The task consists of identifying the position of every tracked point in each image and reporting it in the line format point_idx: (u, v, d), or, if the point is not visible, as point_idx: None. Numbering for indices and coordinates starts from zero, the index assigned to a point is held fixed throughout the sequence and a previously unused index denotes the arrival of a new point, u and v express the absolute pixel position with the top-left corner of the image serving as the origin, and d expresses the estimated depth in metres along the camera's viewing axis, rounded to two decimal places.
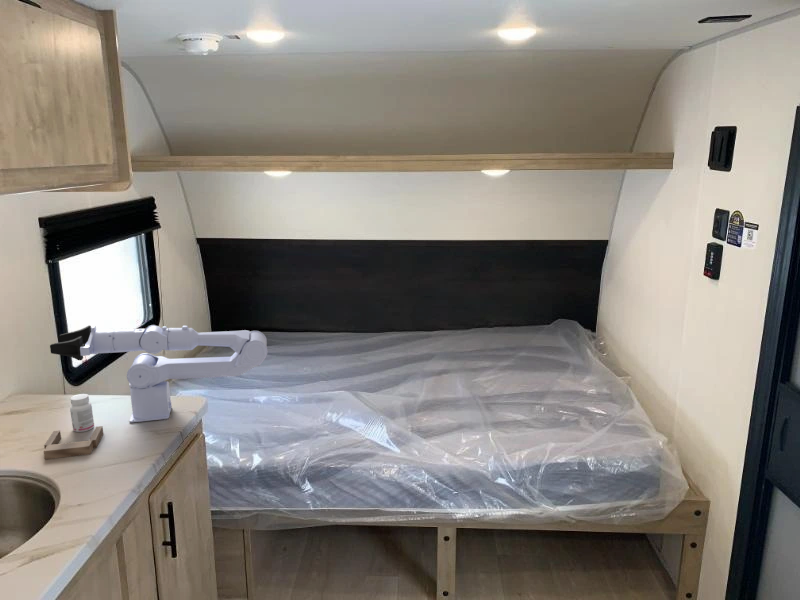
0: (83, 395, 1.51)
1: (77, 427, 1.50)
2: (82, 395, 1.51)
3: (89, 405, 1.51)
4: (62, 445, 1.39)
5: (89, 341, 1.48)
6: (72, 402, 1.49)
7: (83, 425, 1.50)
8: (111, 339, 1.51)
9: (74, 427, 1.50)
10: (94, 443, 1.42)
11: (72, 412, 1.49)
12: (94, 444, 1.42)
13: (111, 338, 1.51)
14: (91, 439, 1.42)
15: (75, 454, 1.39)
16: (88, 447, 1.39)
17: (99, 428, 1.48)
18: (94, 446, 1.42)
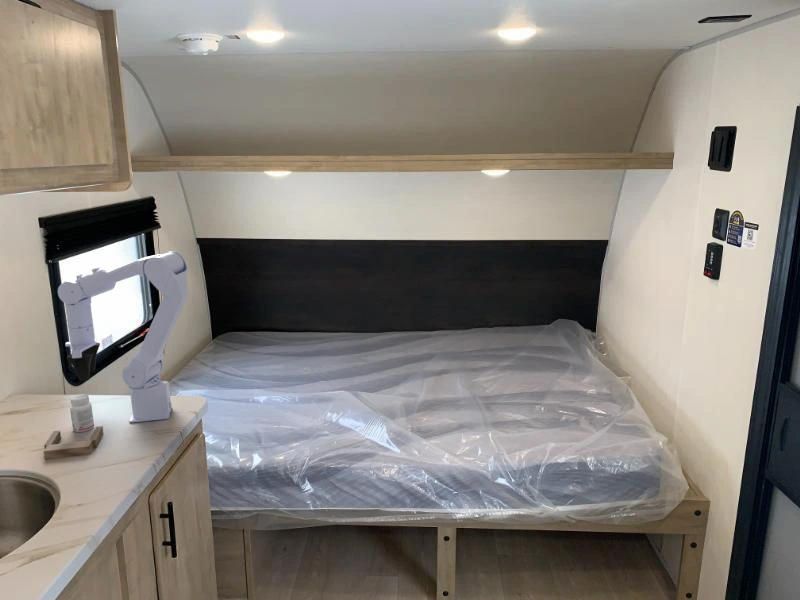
0: (83, 395, 1.51)
1: (77, 427, 1.50)
2: (82, 395, 1.51)
3: (89, 405, 1.51)
4: (62, 445, 1.39)
5: (71, 349, 1.52)
6: (72, 402, 1.49)
7: (83, 425, 1.50)
8: (73, 329, 1.53)
9: (74, 427, 1.50)
10: (94, 443, 1.42)
11: (72, 412, 1.49)
12: (94, 444, 1.42)
13: (72, 329, 1.53)
14: (91, 439, 1.42)
15: (75, 454, 1.39)
16: (88, 447, 1.39)
17: (99, 428, 1.48)
18: (94, 446, 1.42)
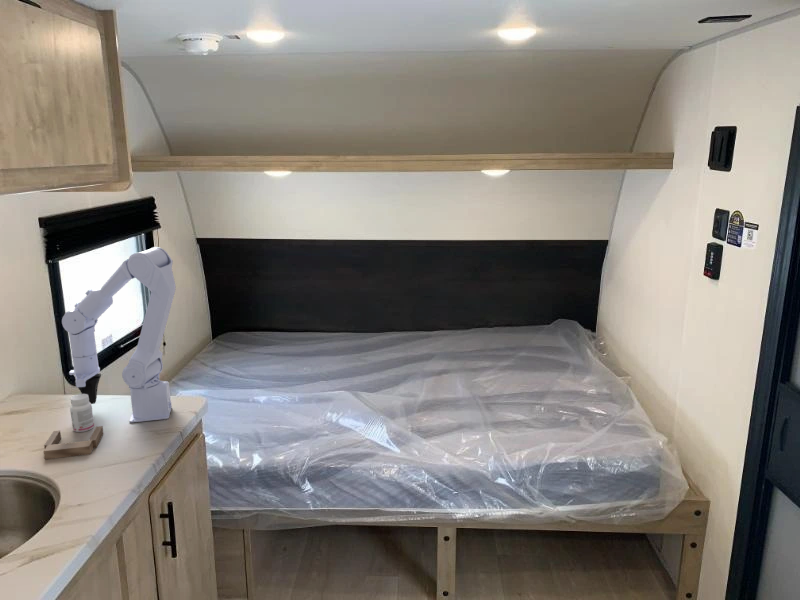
0: (83, 395, 1.51)
1: (77, 427, 1.50)
2: (82, 395, 1.51)
3: (89, 405, 1.51)
4: (62, 445, 1.39)
5: (75, 378, 1.54)
6: (72, 402, 1.49)
7: (83, 425, 1.50)
8: (77, 358, 1.55)
9: (74, 427, 1.50)
10: (94, 443, 1.42)
11: (72, 412, 1.49)
12: (94, 444, 1.42)
13: (76, 358, 1.55)
14: (91, 439, 1.42)
15: (75, 454, 1.39)
16: (88, 447, 1.39)
17: (99, 428, 1.48)
18: (94, 446, 1.42)
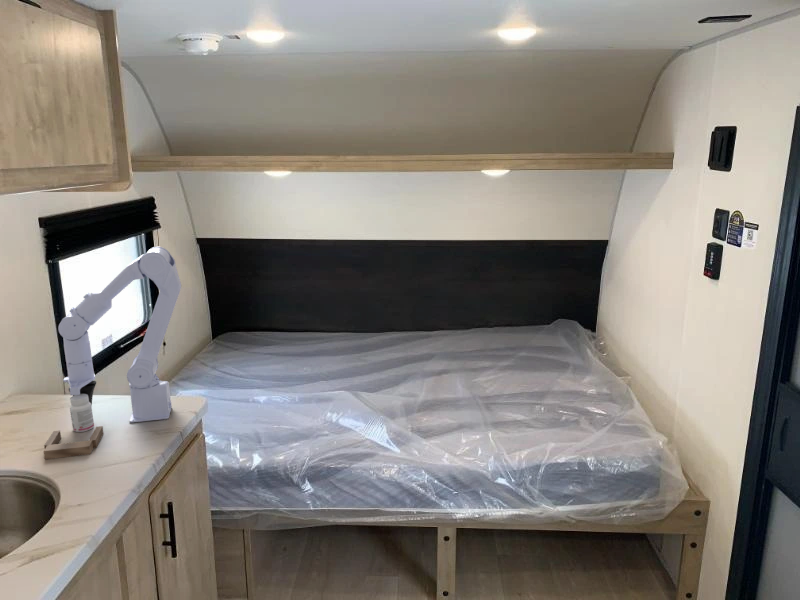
0: (83, 395, 1.51)
1: (77, 427, 1.50)
2: (81, 395, 1.51)
3: (89, 405, 1.51)
4: (62, 445, 1.39)
5: (69, 385, 1.49)
6: (72, 402, 1.49)
7: (83, 425, 1.50)
8: (71, 365, 1.50)
9: (74, 427, 1.50)
10: (94, 443, 1.42)
11: (72, 412, 1.49)
12: (94, 444, 1.42)
13: (70, 365, 1.50)
14: (91, 439, 1.42)
15: (75, 454, 1.39)
16: (88, 447, 1.39)
17: (99, 428, 1.48)
18: (94, 446, 1.42)
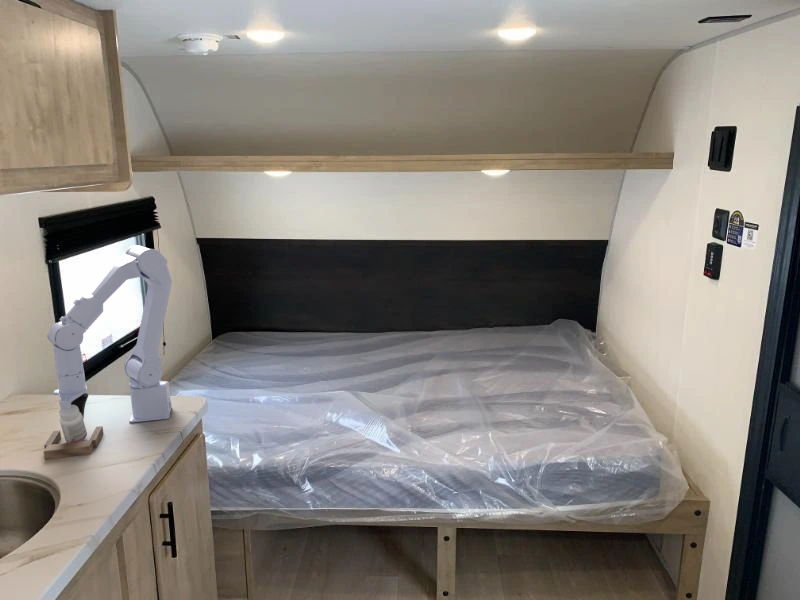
0: (73, 407, 1.43)
1: (69, 439, 1.44)
2: (71, 408, 1.43)
3: (80, 418, 1.43)
4: (62, 445, 1.39)
5: (60, 398, 1.41)
6: (61, 417, 1.41)
7: (75, 438, 1.44)
8: (62, 377, 1.42)
9: (66, 439, 1.44)
10: (94, 443, 1.42)
11: (62, 426, 1.42)
12: (94, 444, 1.42)
13: (60, 377, 1.42)
14: (91, 439, 1.42)
15: (75, 454, 1.39)
16: (88, 447, 1.39)
17: (99, 428, 1.48)
18: (94, 446, 1.42)
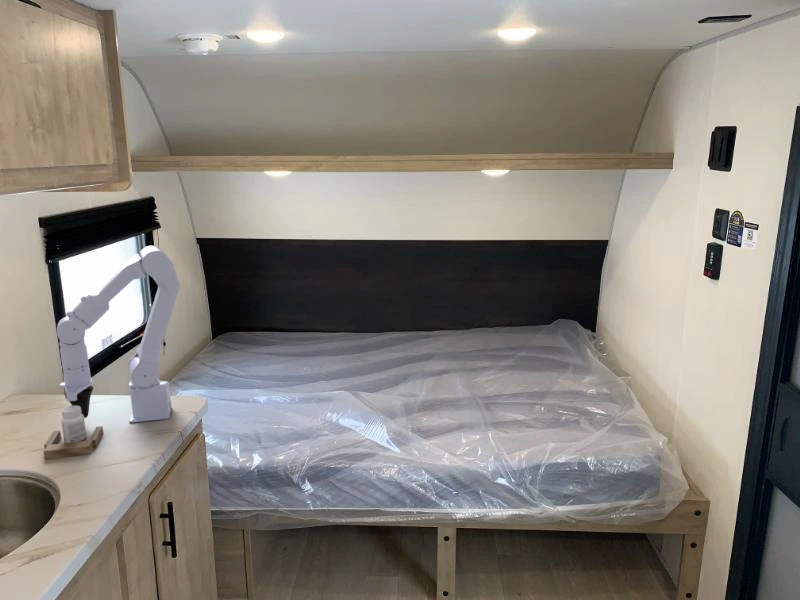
0: (75, 407, 1.44)
1: (68, 441, 1.43)
2: (74, 407, 1.44)
3: (81, 418, 1.44)
4: (62, 445, 1.39)
5: (66, 391, 1.46)
6: (63, 414, 1.42)
7: (74, 439, 1.43)
8: (67, 370, 1.46)
9: (65, 440, 1.43)
10: (94, 443, 1.42)
11: (63, 425, 1.42)
12: (94, 444, 1.42)
13: (66, 370, 1.46)
14: (91, 439, 1.42)
15: (75, 454, 1.39)
16: (88, 447, 1.39)
17: (99, 428, 1.48)
18: (94, 446, 1.42)
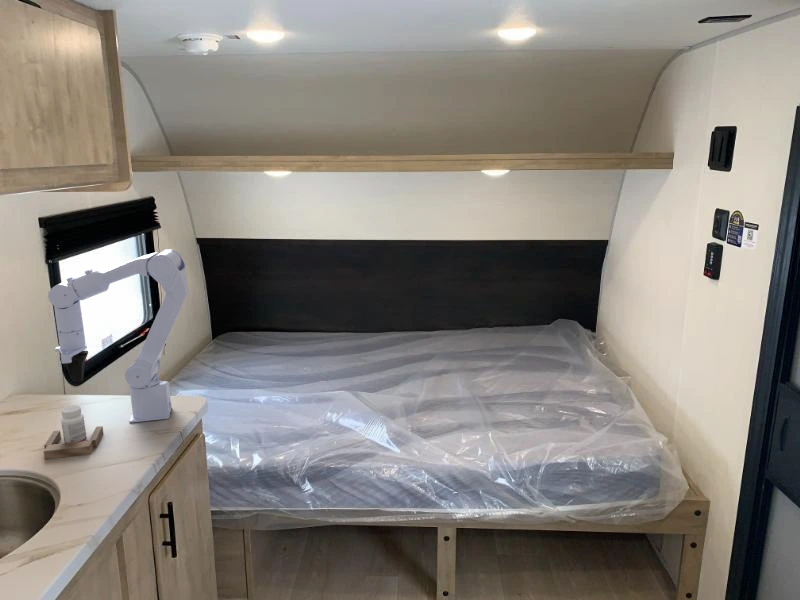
0: (75, 407, 1.44)
1: (68, 441, 1.43)
2: (74, 407, 1.44)
3: (81, 418, 1.44)
4: (62, 445, 1.39)
5: (61, 354, 1.49)
6: (63, 414, 1.42)
7: (74, 439, 1.43)
8: (62, 333, 1.49)
9: (65, 440, 1.43)
10: (94, 443, 1.42)
11: (63, 425, 1.42)
12: (94, 444, 1.42)
13: (61, 333, 1.49)
14: (91, 439, 1.42)
15: (75, 454, 1.39)
16: (88, 447, 1.39)
17: (99, 428, 1.48)
18: (94, 446, 1.42)
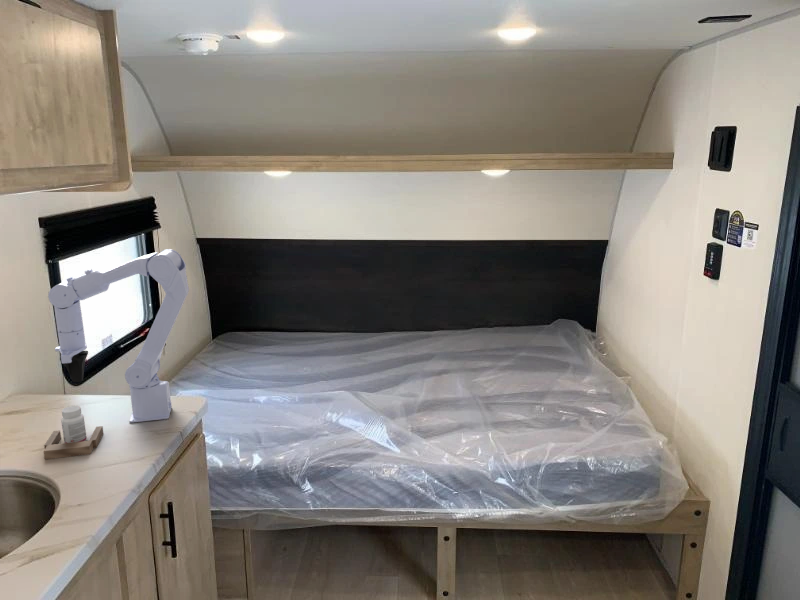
0: (75, 407, 1.44)
1: (68, 441, 1.43)
2: (74, 407, 1.44)
3: (81, 418, 1.44)
4: (62, 445, 1.39)
5: (61, 354, 1.49)
6: (63, 414, 1.42)
7: (74, 439, 1.43)
8: (62, 333, 1.49)
9: (65, 440, 1.43)
10: (94, 443, 1.42)
11: (63, 425, 1.42)
12: (94, 444, 1.42)
13: (61, 333, 1.49)
14: (91, 439, 1.42)
15: (75, 454, 1.39)
16: (88, 447, 1.39)
17: (99, 428, 1.48)
18: (94, 446, 1.42)
